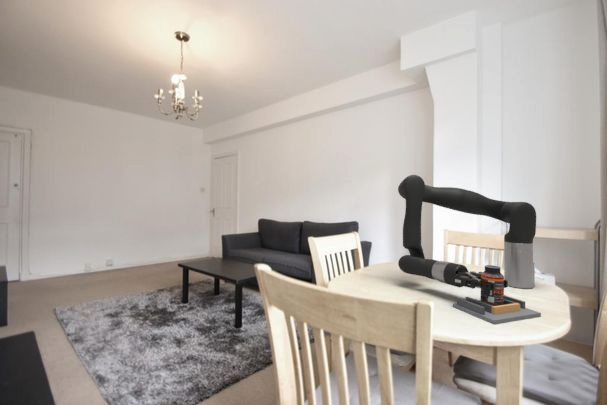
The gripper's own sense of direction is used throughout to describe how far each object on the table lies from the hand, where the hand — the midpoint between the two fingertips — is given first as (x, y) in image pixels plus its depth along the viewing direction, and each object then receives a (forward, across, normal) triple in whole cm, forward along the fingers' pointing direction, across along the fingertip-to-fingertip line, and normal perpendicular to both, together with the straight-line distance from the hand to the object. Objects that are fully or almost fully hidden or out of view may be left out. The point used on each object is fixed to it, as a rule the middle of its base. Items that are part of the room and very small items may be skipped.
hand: (500, 285), depth 86 cm
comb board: (-2, 0, +8) cm, 8 cm away
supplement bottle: (-2, 0, +6) cm, 7 cm away
